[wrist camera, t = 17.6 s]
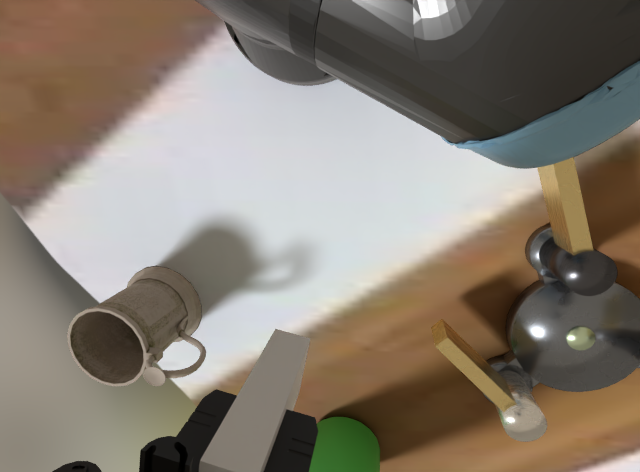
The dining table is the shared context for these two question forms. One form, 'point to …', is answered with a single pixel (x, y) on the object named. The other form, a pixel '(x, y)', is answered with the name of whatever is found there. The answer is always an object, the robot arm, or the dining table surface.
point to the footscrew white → (494, 385)
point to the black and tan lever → (571, 234)
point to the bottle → (345, 447)
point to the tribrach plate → (570, 332)
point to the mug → (137, 329)
